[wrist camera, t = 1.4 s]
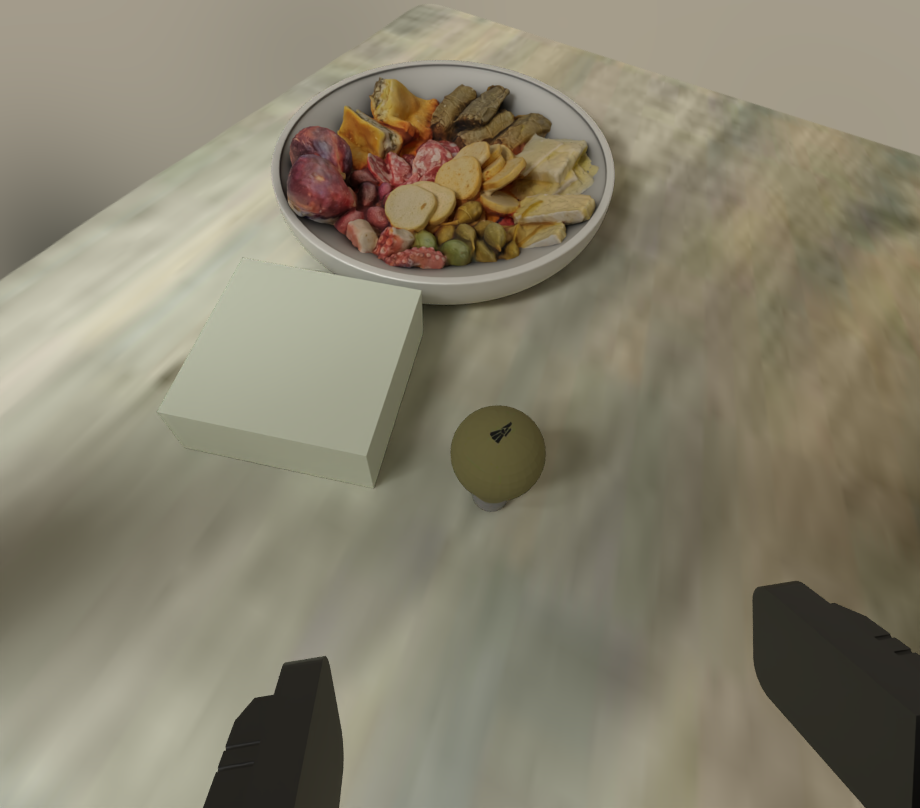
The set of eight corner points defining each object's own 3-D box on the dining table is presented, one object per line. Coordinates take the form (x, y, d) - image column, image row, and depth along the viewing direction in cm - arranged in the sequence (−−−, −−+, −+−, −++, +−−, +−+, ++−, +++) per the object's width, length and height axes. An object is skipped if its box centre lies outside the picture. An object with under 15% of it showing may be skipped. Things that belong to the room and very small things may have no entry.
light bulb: (510, 552, 41) (529, 492, 32) (435, 517, 42) (433, 449, 33) (542, 482, 43) (567, 409, 35) (470, 451, 44) (477, 372, 36)
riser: (184, 447, 44) (156, 411, 40) (259, 301, 51) (242, 257, 47) (373, 488, 43) (366, 456, 38) (423, 332, 50) (421, 290, 46)
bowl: (503, 78, 69) (510, 3, 62) (667, 253, 56) (698, 181, 49) (242, 152, 61) (217, 75, 55) (357, 376, 48) (344, 311, 41)
